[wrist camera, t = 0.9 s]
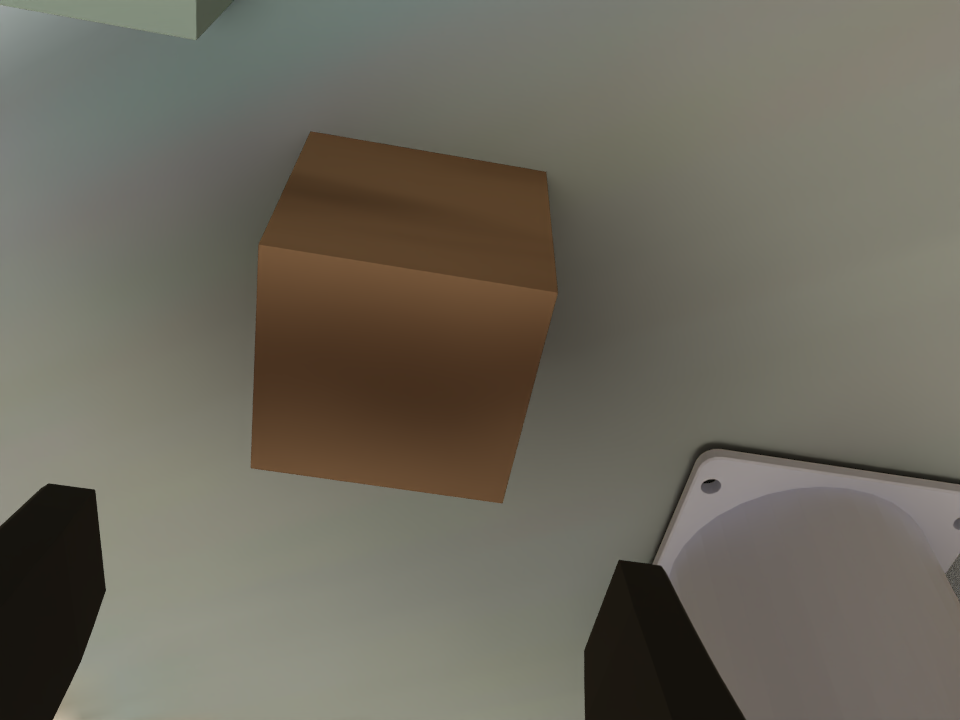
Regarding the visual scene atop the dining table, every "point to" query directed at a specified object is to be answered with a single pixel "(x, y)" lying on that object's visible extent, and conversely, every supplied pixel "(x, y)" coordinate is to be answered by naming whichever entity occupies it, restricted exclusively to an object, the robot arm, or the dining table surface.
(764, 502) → the robot arm
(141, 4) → the sage green base
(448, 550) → the dining table surface
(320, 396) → the walnut block
